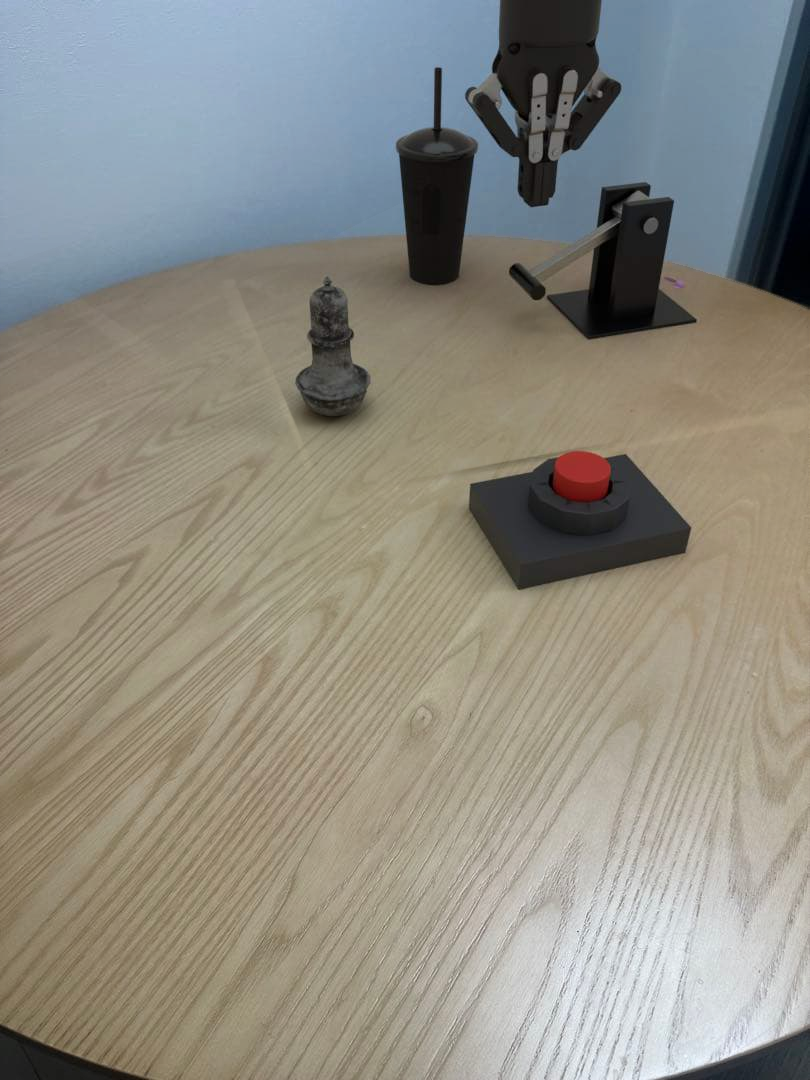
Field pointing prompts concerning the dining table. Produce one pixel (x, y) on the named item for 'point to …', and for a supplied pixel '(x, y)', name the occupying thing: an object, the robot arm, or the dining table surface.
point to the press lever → (569, 253)
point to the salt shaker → (331, 357)
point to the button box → (575, 524)
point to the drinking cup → (435, 195)
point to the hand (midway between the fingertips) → (535, 203)
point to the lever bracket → (626, 271)
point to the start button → (581, 476)
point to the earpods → (678, 283)
